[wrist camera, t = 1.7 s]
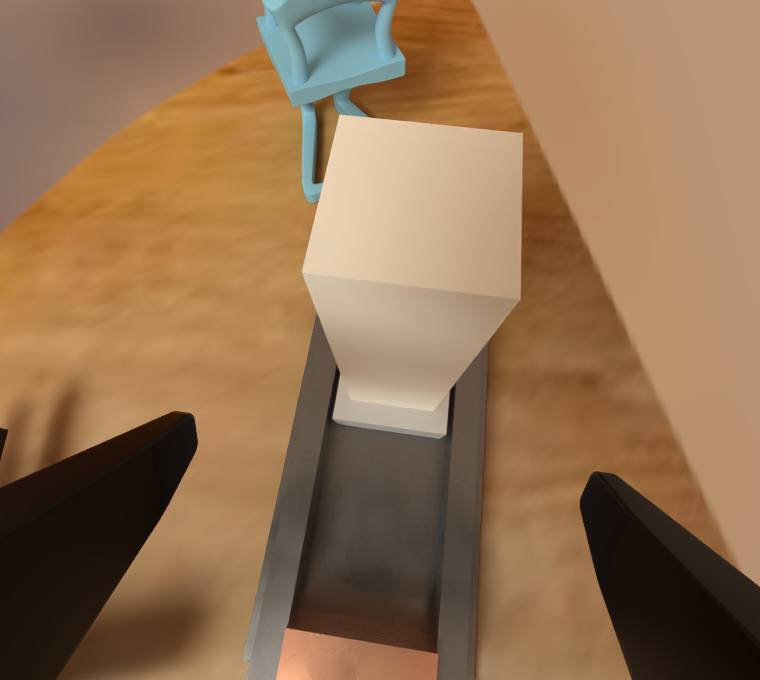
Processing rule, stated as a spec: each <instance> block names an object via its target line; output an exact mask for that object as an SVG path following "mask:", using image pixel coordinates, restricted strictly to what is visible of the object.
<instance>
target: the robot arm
mask: <svg viewBox="0 0 760 680" xmlns="http://www.w3.org/2000/svg"><path fill="white" fill-rule="evenodd" d="M197 445H198V439H197V432H196V425H195V418H194V416H193V415H192V414H191V413H186V412H179V411H173V412H171V413H168V414H166V415H164V416H162V417H159V418H157V419H155V420H152V421H150V422H148V423H146V424H143V425H141V426H139V427H137V428H134V429H132V430H130V431H128V432H125V433H123V434H121V435H118V436H116V437H114V438H112V439H109V440H107V441H105V442H103V443H100V444H98V445H96V446H94V447H91V448H89V449H87V450H84V451H82V452H80V453H78V454H75V455H73V456H71V457H69V458H66V459H64V460H62V461H60V462H57V463H55V464H53V465H50V466H48V467H46V468H44V469H41V470H39V471H37V472H35V473H32V474H30V475H28V476H25V477H23V478H21V479H19V480H16V481H14V482H12V483H10V484H7V485H5V486H3V487H1V488H0V680H56V679H57V678H58V676H59V675H60V673H61V672H62V670H63V669H64V667H65V665H66V664H67V662H68V661H69V659H70V658H71V656H72V655H73V653H74V652H75V650H76V648H77V647H78V645H79V644H80V642H81V641H82V639H83V638H84V636H85V635H86V633H87V631H88V630H89V628H90V627H91V625H92V624H93V622H94V621H95V619H96V618H97V616H98V614H99V613H100V611H101V610H102V608H103V607H104V605H105V604H106V602H107V601H108V599H109V597H110V596H111V594H112V593H113V591H114V590H115V588H116V587H117V585H118V584H119V582H120V580H121V579H122V577H123V576H124V574H125V573H126V571H127V570H128V568H129V567H130V565H131V563H132V562H133V560H134V559H135V557H136V556H137V554H138V553H139V551H140V550H141V548H142V546H143V545H144V543H145V542H146V540H147V539H148V537H149V536H150V534H151V533H152V531H153V529H154V528H155V526H156V525H157V523H158V522H159V520H160V518H161V517H162V515H163V514H164V512H165V510H166V508H167V506H168V505H169V503H170V501H171V499H172V497H173V495H174V493H175V491H176V489H177V487H178V485H179V483H180V481H181V479H182V477H183V476H184V474H185V472H186V470H187V468H188V466H189V464H190V462H191V460H192V458H193V456H194V454H195V452H196V449H197ZM580 510H581V515H582V519H583V523H584V527H585V531H586V535H587V540H588V544H589V548H590V552H591V556H592V560H593V564H594V569H595V572H596V576H597V580H598V583H599V586H600V589H601V592H602V595H603V598H604V601H605V604H606V607H607V609H608V612H609V615H610V618H611V621H612V624H613V627H614V630H615V632H616V635H617V638H618V641H619V644H620V647H621V650H622V652H623V655H624V658H625V661H626V664H627V667H628V670H629V673H630V675H631V678H632V680H760V587H759V586H758V585H757V584H755V583H754V582H753V581H752V580H750V579H749V578H748V577H747V576H745V575H744V574H743V573H741V572H740V571H739V570H738V569H736V568H735V567H734V566H732V565H731V564H730V563H729V562H727V561H726V560H725V559H723V558H722V557H721V556H720V555H718V554H717V553H716V552H714V551H713V550H712V549H711V548H709V547H708V546H707V545H705V544H704V543H703V542H702V541H700V540H699V539H698V538H696V537H695V536H694V535H693V534H691V533H690V532H689V531H687V530H686V529H685V528H684V527H682V526H681V525H680V524H678V523H677V522H676V521H675V520H673V519H672V518H671V517H669V516H668V515H667V514H666V513H664V512H663V511H662V510H660V509H659V508H658V507H657V506H655V505H654V504H653V503H651V502H650V501H649V500H648V499H646V498H645V497H644V496H642V495H641V494H640V493H639V492H637V491H636V490H635V489H633V488H632V487H631V486H630V485H628V484H627V483H626V482H624V481H623V480H622V479H621V478H619V477H618V476H617V475H615V474H612V473H606V472H599V471H596V472H593V473H592V474H591V476H590V478H589V480H588V482H587V484H586V487H585V489H584V491H583V493H582V496H581V498H580Z"/></svg>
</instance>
